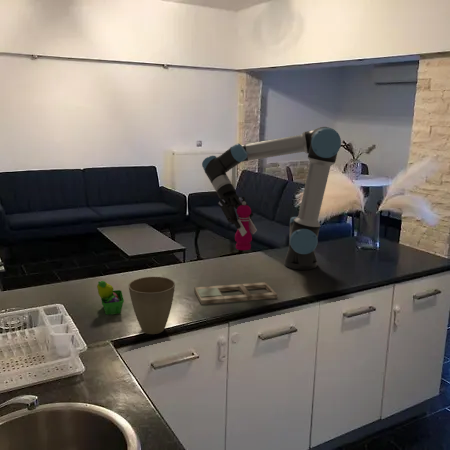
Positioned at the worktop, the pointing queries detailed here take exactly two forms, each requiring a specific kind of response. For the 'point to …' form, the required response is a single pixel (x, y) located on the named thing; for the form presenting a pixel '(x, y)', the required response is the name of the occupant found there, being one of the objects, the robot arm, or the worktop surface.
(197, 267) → the worktop surface
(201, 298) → the board
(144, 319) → the plant pot
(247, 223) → the pepper mill
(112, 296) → the fruit basket
